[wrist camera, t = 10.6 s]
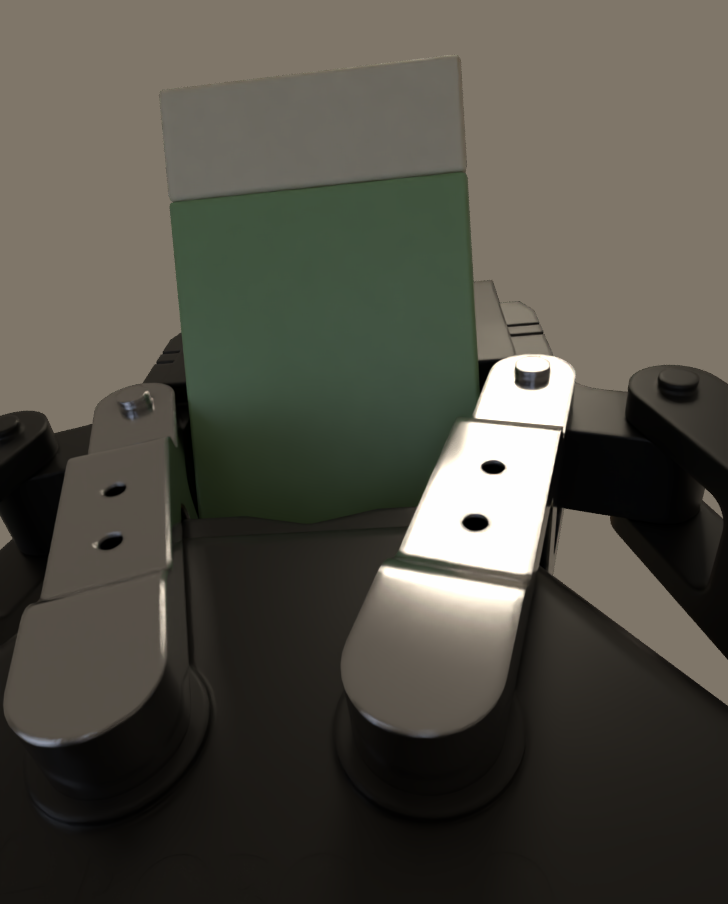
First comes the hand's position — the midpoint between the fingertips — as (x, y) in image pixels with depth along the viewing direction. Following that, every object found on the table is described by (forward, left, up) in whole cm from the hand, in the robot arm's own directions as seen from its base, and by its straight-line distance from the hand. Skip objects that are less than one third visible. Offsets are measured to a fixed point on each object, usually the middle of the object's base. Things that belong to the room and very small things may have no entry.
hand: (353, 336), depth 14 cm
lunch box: (0, +6, -4) cm, 7 cm away
